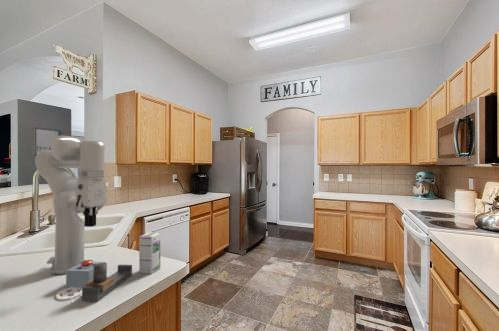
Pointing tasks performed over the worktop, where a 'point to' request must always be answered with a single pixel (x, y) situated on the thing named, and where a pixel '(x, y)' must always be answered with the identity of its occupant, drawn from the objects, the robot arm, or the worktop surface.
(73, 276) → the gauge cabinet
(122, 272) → the rail
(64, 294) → the pendant
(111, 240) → the worktop surface
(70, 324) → the worktop surface
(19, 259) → the worktop surface
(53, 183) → the robot arm
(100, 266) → the carriage
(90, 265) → the plunger
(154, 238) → the syrup box
